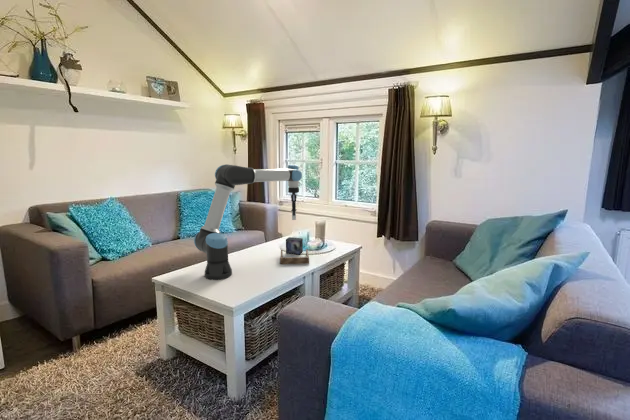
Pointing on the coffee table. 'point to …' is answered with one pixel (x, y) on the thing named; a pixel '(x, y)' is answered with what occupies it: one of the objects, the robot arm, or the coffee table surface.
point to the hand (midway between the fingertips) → (294, 219)
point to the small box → (294, 246)
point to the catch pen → (294, 259)
